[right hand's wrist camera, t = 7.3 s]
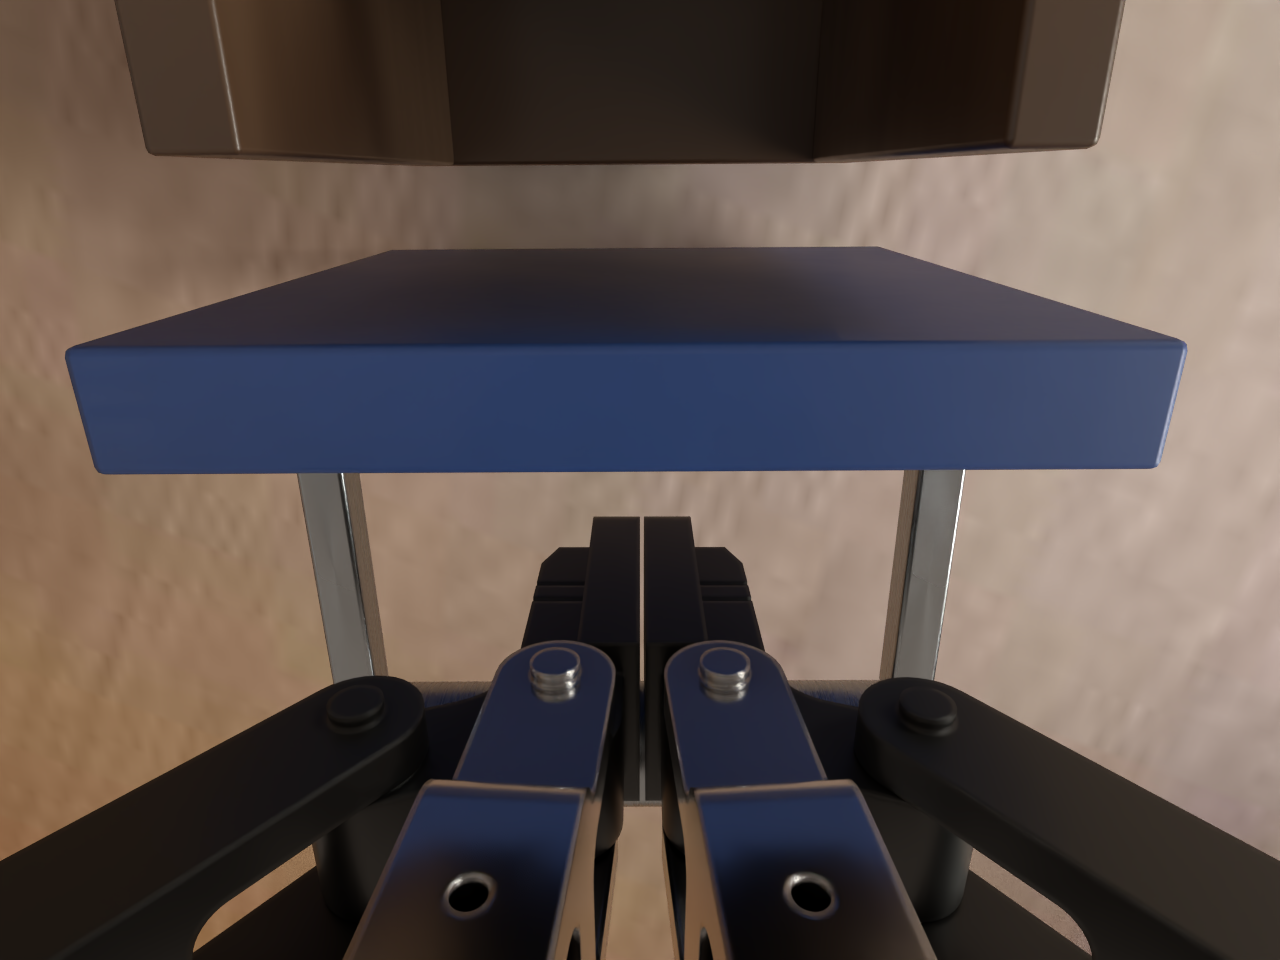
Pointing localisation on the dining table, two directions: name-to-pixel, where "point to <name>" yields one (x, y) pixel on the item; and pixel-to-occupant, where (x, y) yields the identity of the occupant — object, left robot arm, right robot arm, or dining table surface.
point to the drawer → (624, 271)
